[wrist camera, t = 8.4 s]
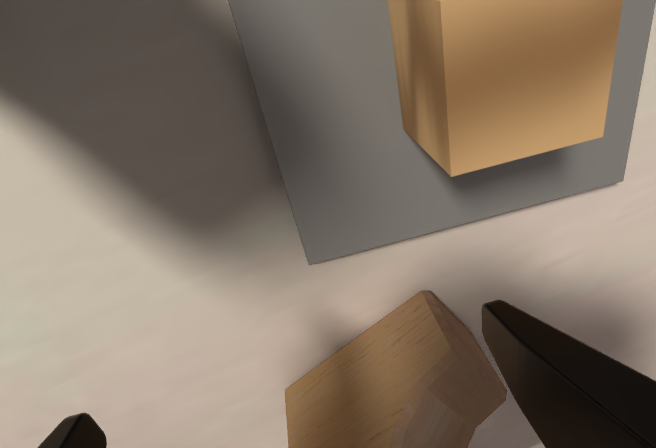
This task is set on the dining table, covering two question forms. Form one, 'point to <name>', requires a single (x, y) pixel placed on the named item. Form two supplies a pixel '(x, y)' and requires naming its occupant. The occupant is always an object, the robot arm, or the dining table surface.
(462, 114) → the oak cube
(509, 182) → the charcoal mat
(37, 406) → the dining table surface
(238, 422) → the dining table surface
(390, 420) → the decorative block
